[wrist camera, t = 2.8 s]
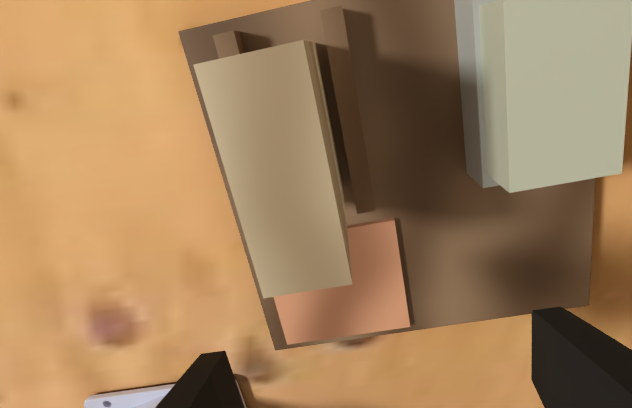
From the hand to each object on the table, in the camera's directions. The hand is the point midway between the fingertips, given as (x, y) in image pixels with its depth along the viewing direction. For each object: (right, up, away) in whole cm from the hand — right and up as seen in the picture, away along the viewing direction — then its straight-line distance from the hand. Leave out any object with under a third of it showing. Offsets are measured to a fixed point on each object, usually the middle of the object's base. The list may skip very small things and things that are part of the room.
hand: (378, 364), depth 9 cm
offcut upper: (+6, +8, +5) cm, 11 cm away
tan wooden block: (-2, +7, +7) cm, 11 cm away
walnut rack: (+3, +5, +9) cm, 11 cm away
